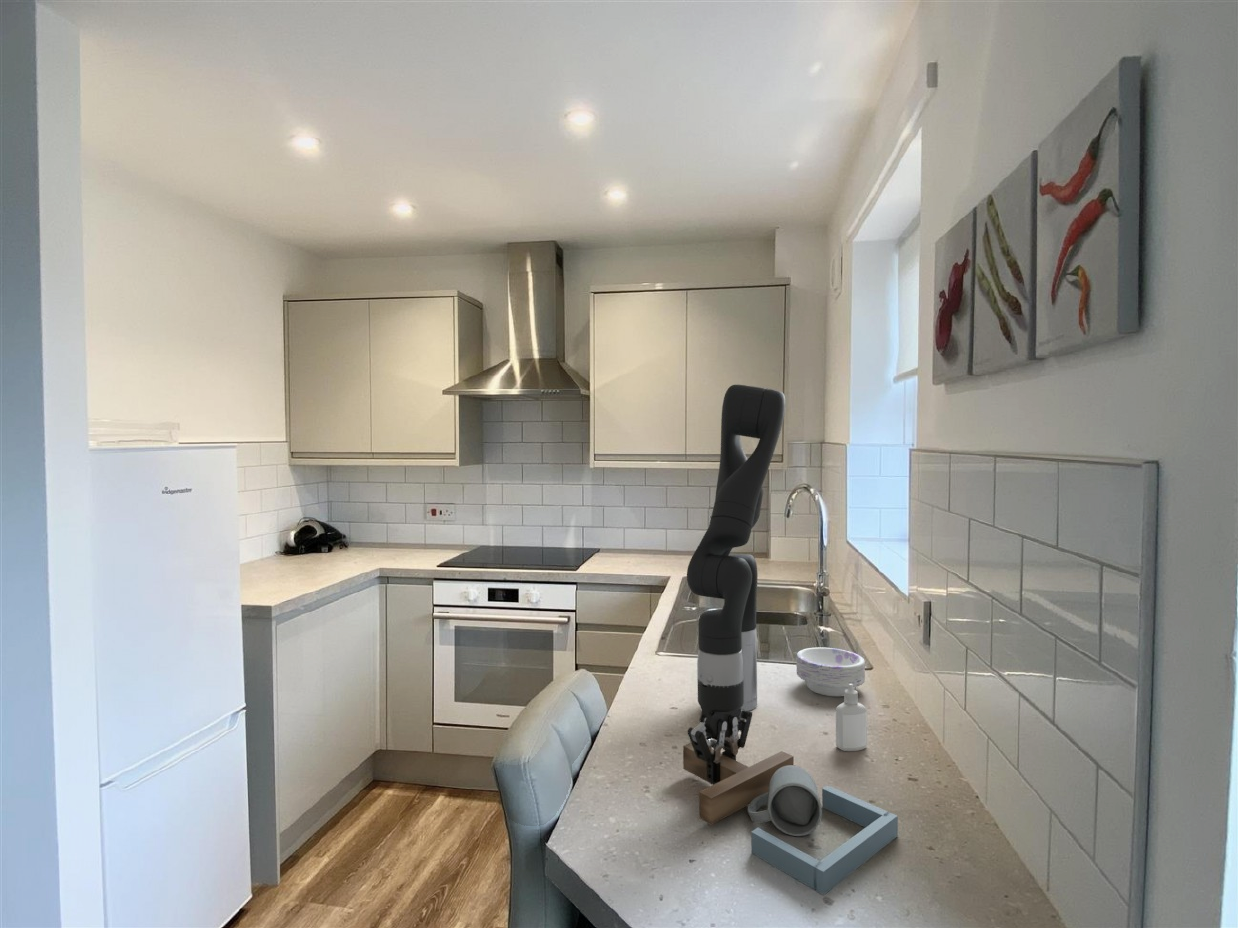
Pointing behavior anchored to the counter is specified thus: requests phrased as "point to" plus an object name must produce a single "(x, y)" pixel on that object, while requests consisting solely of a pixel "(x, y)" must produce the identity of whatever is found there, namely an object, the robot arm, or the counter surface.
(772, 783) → the ceramic mug
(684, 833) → the counter surface
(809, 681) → the paper bowls
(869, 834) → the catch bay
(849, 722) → the eye dropper bottle
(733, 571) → the robot arm
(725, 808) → the scraper
